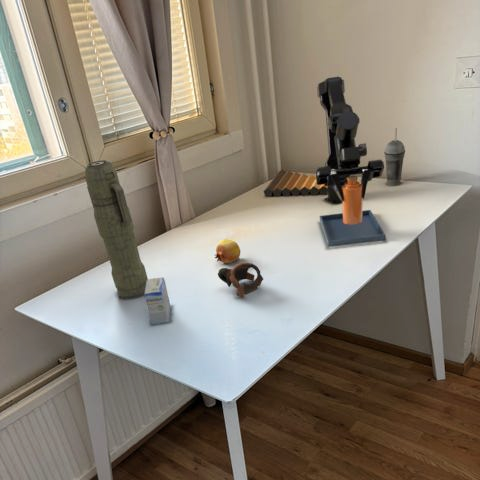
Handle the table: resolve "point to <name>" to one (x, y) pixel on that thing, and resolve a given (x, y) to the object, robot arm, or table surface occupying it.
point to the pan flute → (294, 185)
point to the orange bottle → (352, 201)
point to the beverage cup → (394, 161)
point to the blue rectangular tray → (351, 229)
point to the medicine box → (157, 300)
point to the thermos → (116, 228)
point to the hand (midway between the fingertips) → (353, 199)
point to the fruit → (227, 251)
